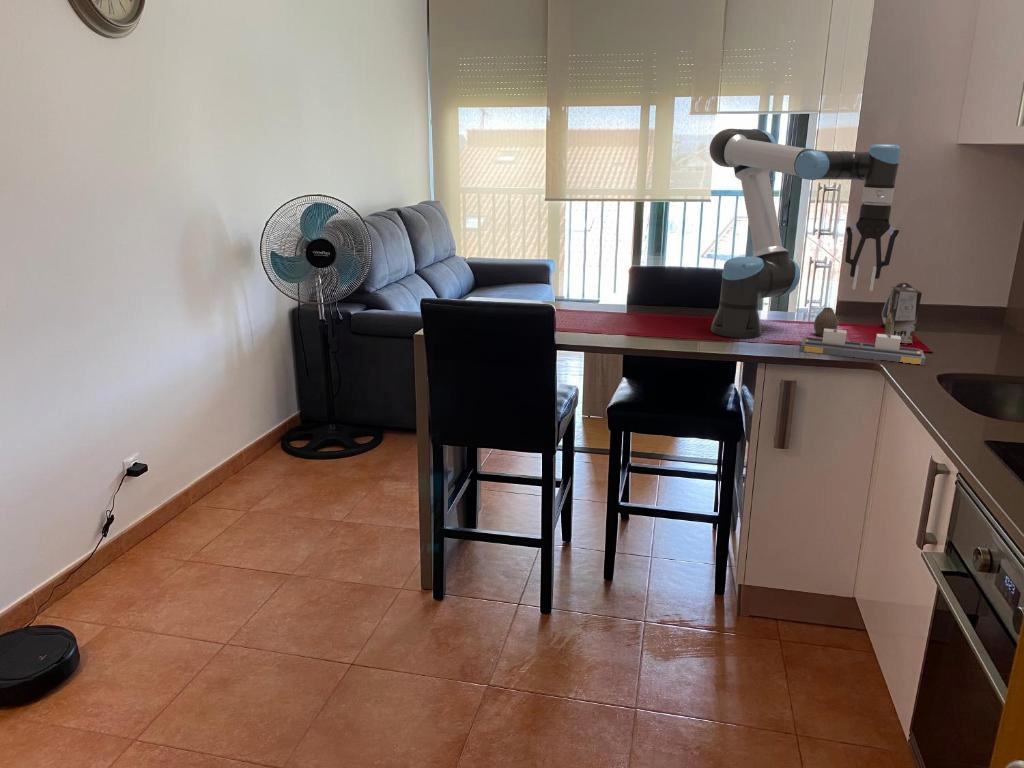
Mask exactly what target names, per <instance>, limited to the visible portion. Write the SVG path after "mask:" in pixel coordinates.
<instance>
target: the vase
mask: <svg viewBox="0 0 1024 768" xmlns="http://www.w3.org/2000/svg"><path fill="white" fill-rule="evenodd" d="M814 319H815V320H814V321H813V329H814V332H815V334H816V335H817V336H819V337H823V333H824V328H826V329H837V330H838V327H839V320H838V317H837V315H836V313H835V312H834V309H833V308H832V307H827V306H826V307H823V309H822V310H821V311H820V312H819V313H818V314H817V316H816V317H815V318H814Z"/></svg>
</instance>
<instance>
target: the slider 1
mask: <svg viewBox="0 0 1024 768" xmlns="http://www.w3.org/2000/svg"><path fill="white" fill-rule="evenodd" d="M822 339H823V340H822V343H826V344H836V345H845V341H847V340H846V339H847V330H845V329H838V328H837V329H826V328H824V333H823V336H822Z"/></svg>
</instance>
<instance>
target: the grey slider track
mask: <svg viewBox="0 0 1024 768" xmlns="http://www.w3.org/2000/svg"><path fill="white" fill-rule="evenodd" d="M822 340H823V338H820V337H809V336H806V337H805V336H804V337H803V336H802V340H801V344H800V352H802V353H808V354H809V353H811V354H818V355H819V354H820V355H829V356H835V357H836V356H839V357H844V356H845V357H847V358H853V357H855V358H856V359H862V358H863V359H865V360H871V359H873V360H874V361H880V360H888V361H887V362H889V361H896V362H895V363H898V362H903V363H902V364H906V363H911V364H910V365H915V364H920V365H919V366H925V365H926V364H925V363H926V361H927V360H926V359H927V357H926V355H925V353H924V351H923V349H920V348H915V347H905V346H900V348H899V351H891V350H882V349H875V343H869V342H868V343H867V342H857V341H848V340H845V345H836V344H826V343H822ZM845 357H844V358H845ZM863 359H862V360H863ZM873 360H872V361H873Z"/></svg>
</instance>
